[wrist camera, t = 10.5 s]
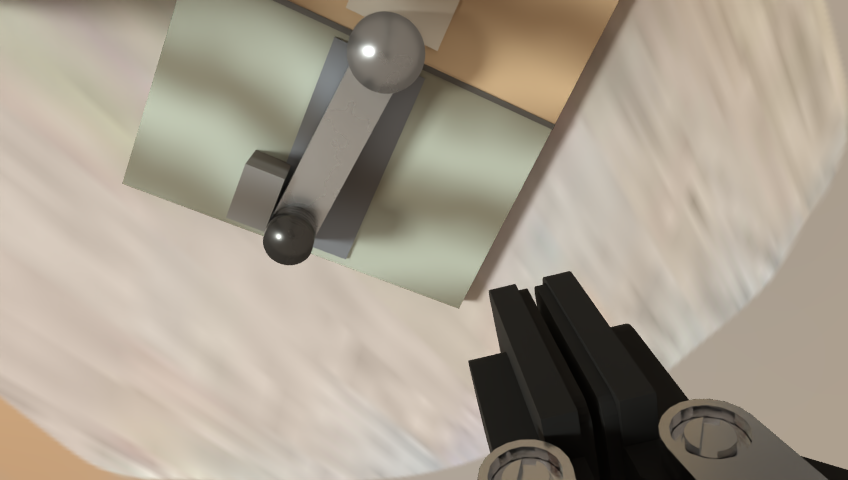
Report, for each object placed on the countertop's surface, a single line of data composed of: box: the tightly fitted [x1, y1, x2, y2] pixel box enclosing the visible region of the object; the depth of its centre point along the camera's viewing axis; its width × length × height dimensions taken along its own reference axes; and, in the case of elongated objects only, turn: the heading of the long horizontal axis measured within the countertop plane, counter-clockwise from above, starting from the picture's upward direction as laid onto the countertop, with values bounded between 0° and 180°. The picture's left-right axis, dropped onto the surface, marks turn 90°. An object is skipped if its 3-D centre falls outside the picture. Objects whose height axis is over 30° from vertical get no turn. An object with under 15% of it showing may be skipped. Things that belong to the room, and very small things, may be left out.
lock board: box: [122, 0, 619, 309], centre depth 30 cm, size 22×20×4 cm
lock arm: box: [263, 11, 425, 265], centre depth 30 cm, size 13×4×4 cm, turn 150°
